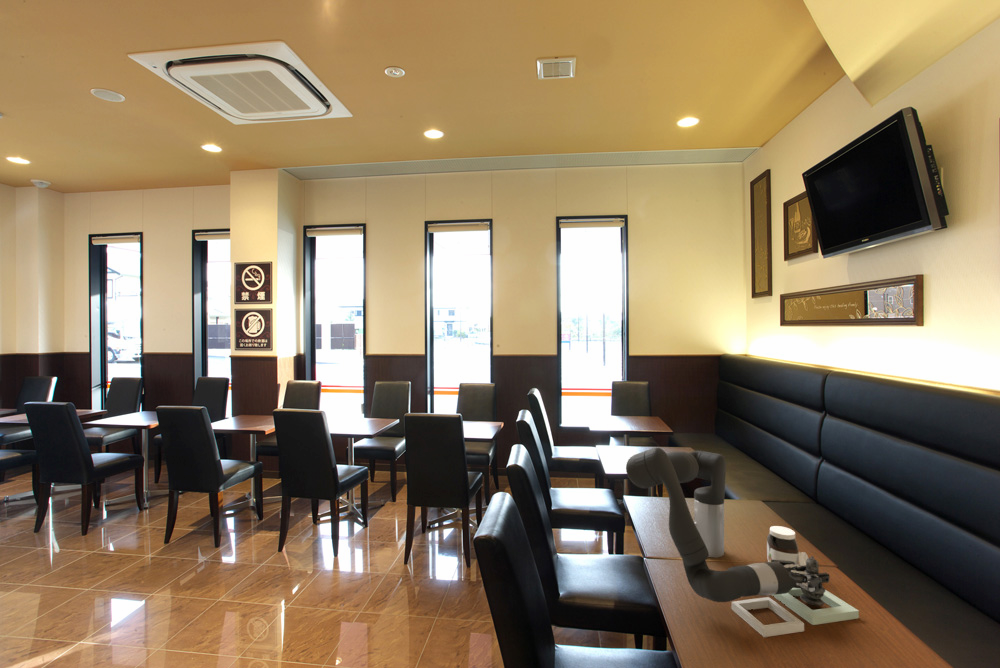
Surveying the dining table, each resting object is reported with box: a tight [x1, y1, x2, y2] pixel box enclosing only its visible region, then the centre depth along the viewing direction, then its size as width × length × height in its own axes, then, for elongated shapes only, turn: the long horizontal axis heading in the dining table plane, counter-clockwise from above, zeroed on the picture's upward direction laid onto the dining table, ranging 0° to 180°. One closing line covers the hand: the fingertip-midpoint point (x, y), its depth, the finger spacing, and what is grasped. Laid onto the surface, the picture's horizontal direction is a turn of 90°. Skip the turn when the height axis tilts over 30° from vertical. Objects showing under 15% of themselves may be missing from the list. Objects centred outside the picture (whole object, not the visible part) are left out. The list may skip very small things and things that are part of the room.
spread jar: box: [766, 525, 809, 566], centre depth 142 cm, size 12×11×12 cm
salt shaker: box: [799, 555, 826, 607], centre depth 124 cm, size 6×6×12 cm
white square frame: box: [730, 596, 805, 638], centre depth 118 cm, size 11×11×2 cm
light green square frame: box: [771, 588, 860, 626], centre depth 124 cm, size 14×14×2 cm
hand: (820, 573), depth 124 cm, fingers closed on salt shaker, 3 cm apart
